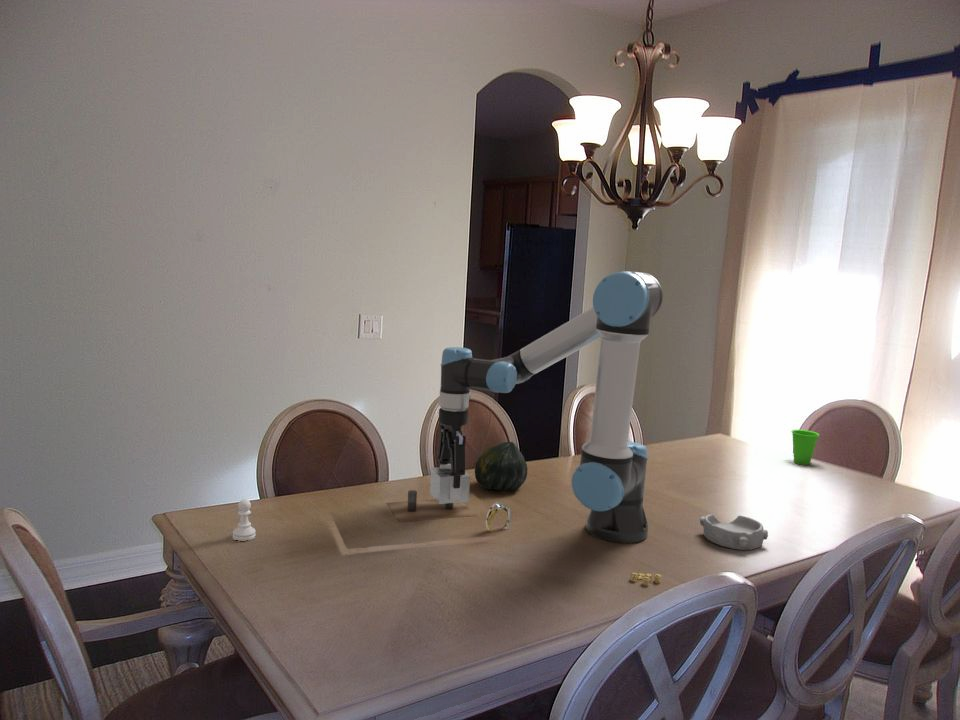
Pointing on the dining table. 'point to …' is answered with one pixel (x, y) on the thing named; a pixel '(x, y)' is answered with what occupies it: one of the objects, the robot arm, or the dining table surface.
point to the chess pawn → (244, 523)
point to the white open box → (447, 485)
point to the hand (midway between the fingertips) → (449, 493)
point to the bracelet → (491, 514)
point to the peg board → (427, 509)
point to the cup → (803, 445)
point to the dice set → (645, 578)
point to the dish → (734, 532)
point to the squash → (501, 468)
